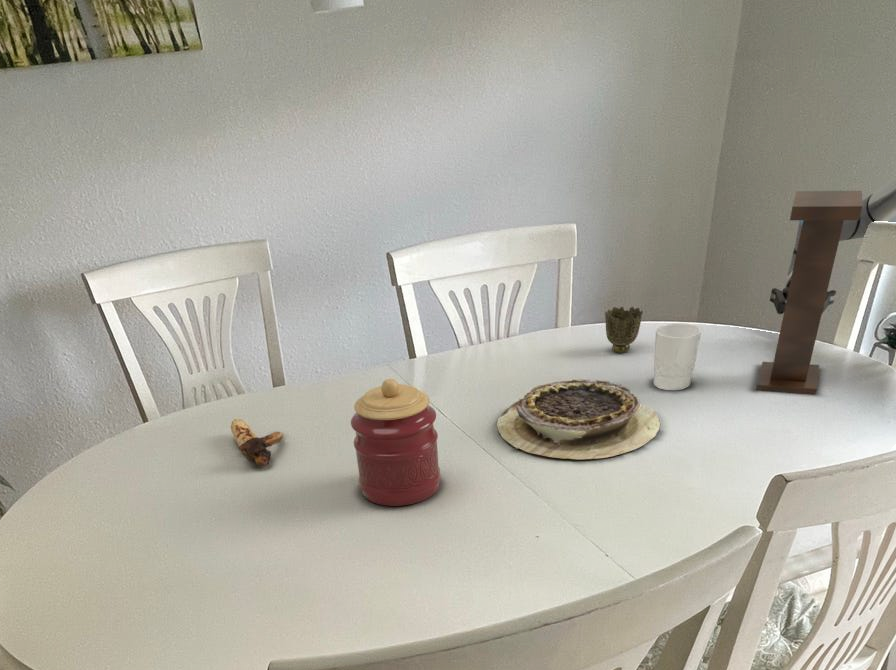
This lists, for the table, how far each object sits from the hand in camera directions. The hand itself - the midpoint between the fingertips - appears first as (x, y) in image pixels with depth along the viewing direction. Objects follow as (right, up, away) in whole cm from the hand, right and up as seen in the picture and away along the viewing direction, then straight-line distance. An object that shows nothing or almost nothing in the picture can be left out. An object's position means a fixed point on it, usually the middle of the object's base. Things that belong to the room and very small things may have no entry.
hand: (798, 319), depth 158 cm
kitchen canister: (-80, -41, -33) cm, 96 cm away
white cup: (-29, -17, -10) cm, 35 cm away
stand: (-9, -17, -13) cm, 23 cm away
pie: (-50, -27, -21) cm, 60 cm away
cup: (-35, -4, +6) cm, 36 cm away
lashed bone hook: (-106, -31, -18) cm, 112 cm away
